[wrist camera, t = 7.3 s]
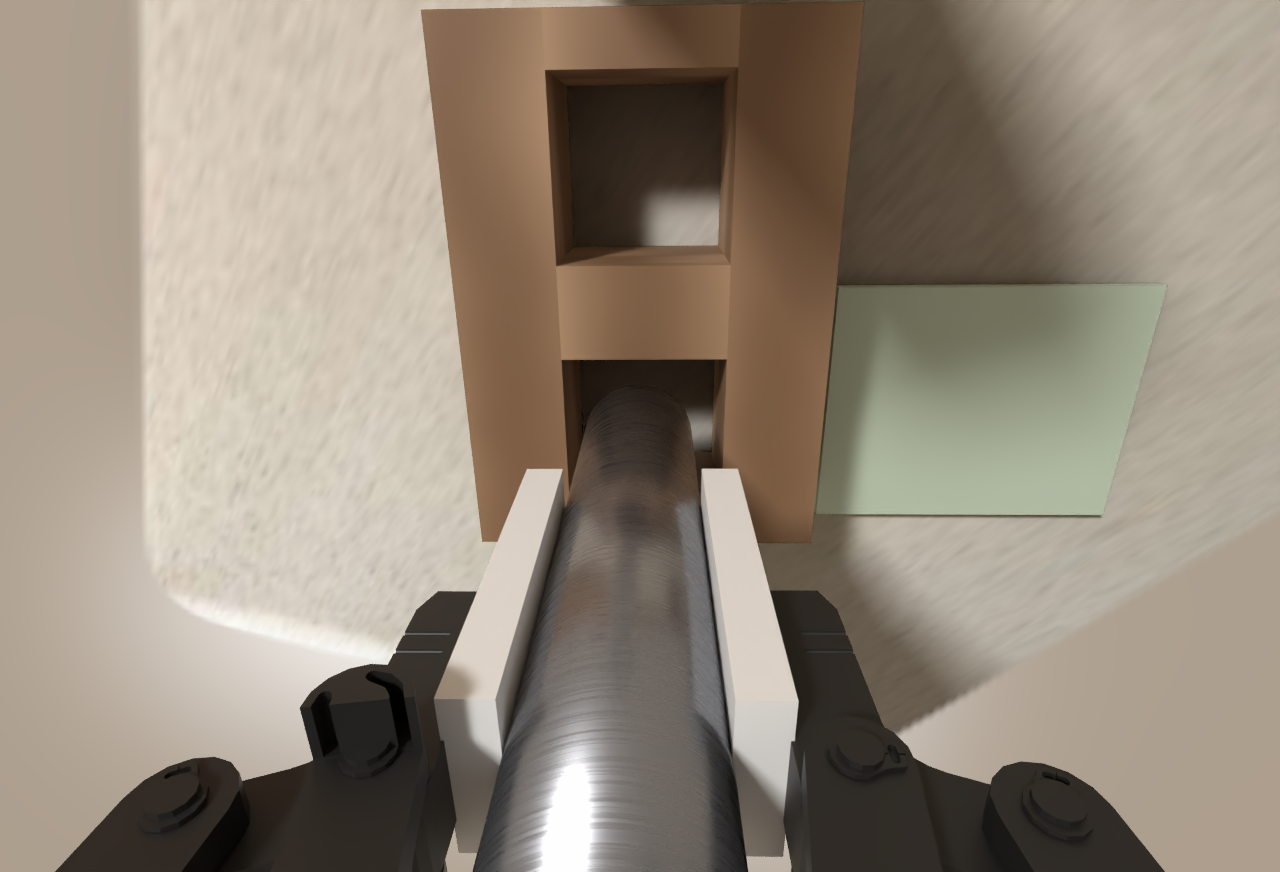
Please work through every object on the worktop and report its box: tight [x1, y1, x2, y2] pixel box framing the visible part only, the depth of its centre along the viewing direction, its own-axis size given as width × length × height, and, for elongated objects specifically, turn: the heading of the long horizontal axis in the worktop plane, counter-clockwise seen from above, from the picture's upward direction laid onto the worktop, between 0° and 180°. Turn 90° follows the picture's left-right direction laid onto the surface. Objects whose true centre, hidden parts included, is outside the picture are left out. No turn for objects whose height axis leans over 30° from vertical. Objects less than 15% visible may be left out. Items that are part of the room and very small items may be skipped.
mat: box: [814, 283, 1167, 515], centre depth 23 cm, size 10×8×1 cm
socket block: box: [421, 2, 864, 543], centre depth 20 cm, size 10×14×4 cm
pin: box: [473, 385, 748, 872], centre depth 13 cm, size 3×3×14 cm
